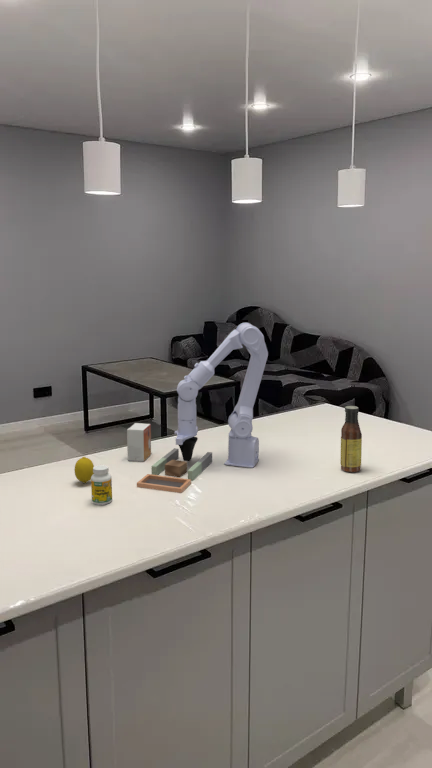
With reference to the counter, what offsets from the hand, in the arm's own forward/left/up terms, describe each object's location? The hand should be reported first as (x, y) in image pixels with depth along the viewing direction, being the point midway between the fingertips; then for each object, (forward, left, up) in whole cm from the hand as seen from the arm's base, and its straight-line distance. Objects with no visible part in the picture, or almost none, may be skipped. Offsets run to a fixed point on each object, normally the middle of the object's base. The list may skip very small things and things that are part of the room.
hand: (187, 460), depth 189 cm
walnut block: (0, +9, -2) cm, 9 cm away
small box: (+17, -1, -2) cm, 17 cm away
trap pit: (0, +18, -1) cm, 18 cm away
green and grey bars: (0, +4, -1) cm, 4 cm away
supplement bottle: (+11, +35, -2) cm, 36 cm away
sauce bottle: (-49, -12, -2) cm, 50 cm away
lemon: (+22, +25, -2) cm, 33 cm away
